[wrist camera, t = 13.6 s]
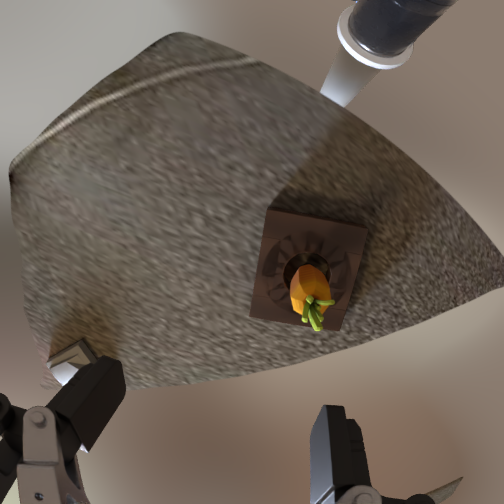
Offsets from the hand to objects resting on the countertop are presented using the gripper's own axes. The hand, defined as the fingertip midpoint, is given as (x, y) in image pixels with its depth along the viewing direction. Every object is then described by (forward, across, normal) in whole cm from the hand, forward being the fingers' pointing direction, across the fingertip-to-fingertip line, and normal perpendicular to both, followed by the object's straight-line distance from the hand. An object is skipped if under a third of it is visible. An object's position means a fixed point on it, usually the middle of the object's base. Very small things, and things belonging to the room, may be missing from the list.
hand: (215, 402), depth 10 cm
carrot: (+32, -6, +5) cm, 34 cm away
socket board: (+32, -6, +5) cm, 33 cm away
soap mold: (+32, +41, +41) cm, 66 cm away
